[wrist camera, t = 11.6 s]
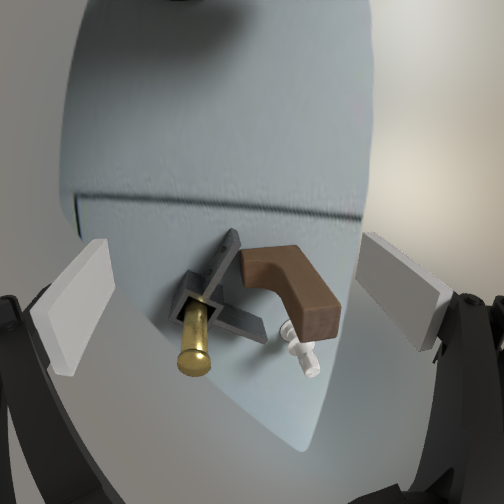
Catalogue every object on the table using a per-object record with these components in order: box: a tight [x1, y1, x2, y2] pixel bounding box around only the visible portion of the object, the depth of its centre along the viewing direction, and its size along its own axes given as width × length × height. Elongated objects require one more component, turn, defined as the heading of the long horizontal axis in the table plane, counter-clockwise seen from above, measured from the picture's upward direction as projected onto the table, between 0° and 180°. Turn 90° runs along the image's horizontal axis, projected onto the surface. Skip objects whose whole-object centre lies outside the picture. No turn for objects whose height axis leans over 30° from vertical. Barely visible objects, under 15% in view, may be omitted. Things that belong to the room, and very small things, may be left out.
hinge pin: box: [177, 296, 211, 377], centre depth 39 cm, size 4×4×17 cm
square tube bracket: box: [169, 228, 268, 345], centre depth 44 cm, size 15×15×6 cm
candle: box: [280, 320, 320, 378], centre depth 47 cm, size 5×5×12 cm
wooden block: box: [240, 245, 341, 343], centre depth 38 cm, size 9×4×18 cm, turn 92°
